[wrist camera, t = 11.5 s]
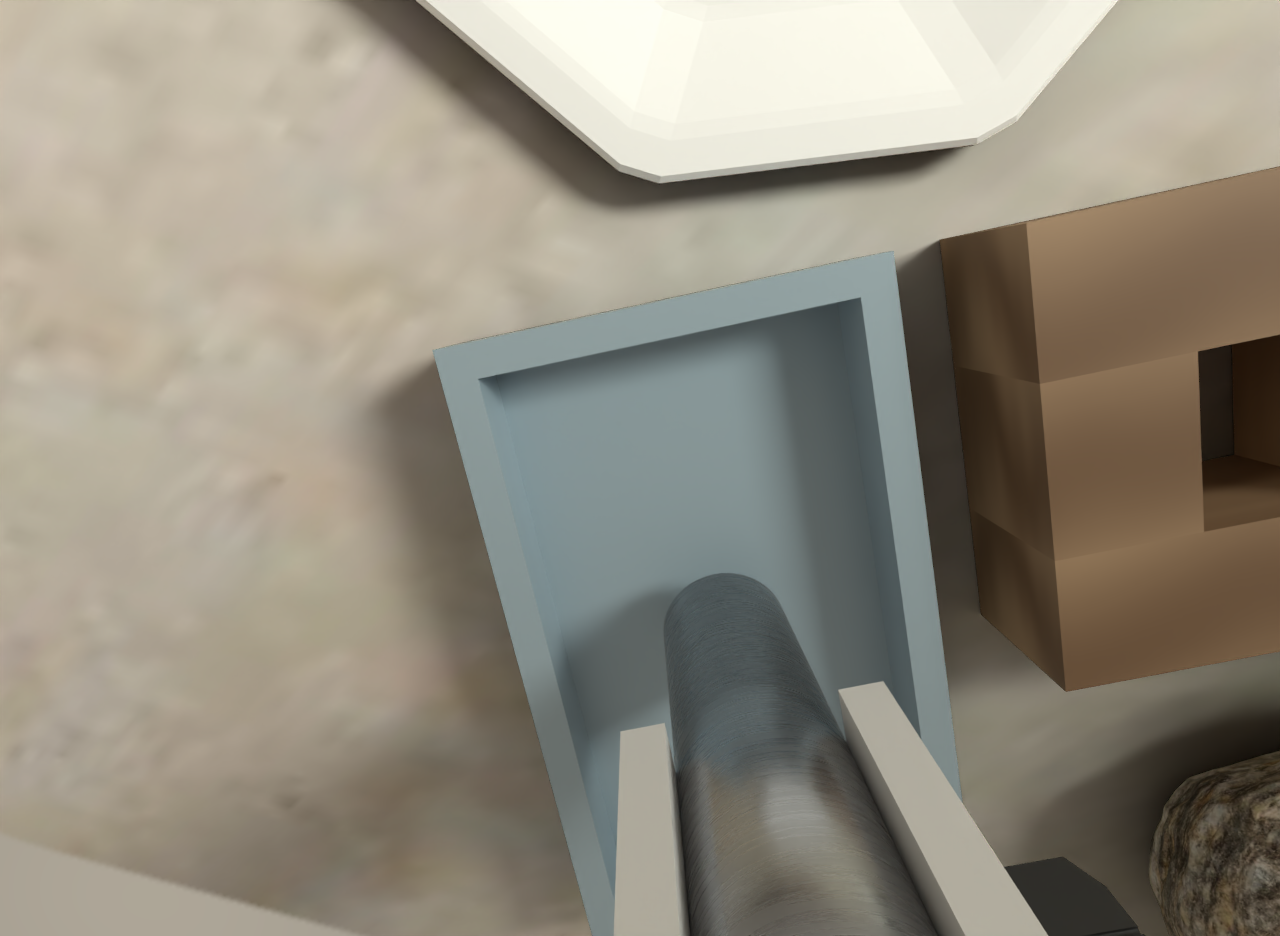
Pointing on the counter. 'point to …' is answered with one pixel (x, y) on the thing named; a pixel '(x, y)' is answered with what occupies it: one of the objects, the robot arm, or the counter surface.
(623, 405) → the tray
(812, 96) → the plate
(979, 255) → the block
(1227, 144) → the counter surface
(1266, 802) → the stone
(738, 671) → the lock pin
